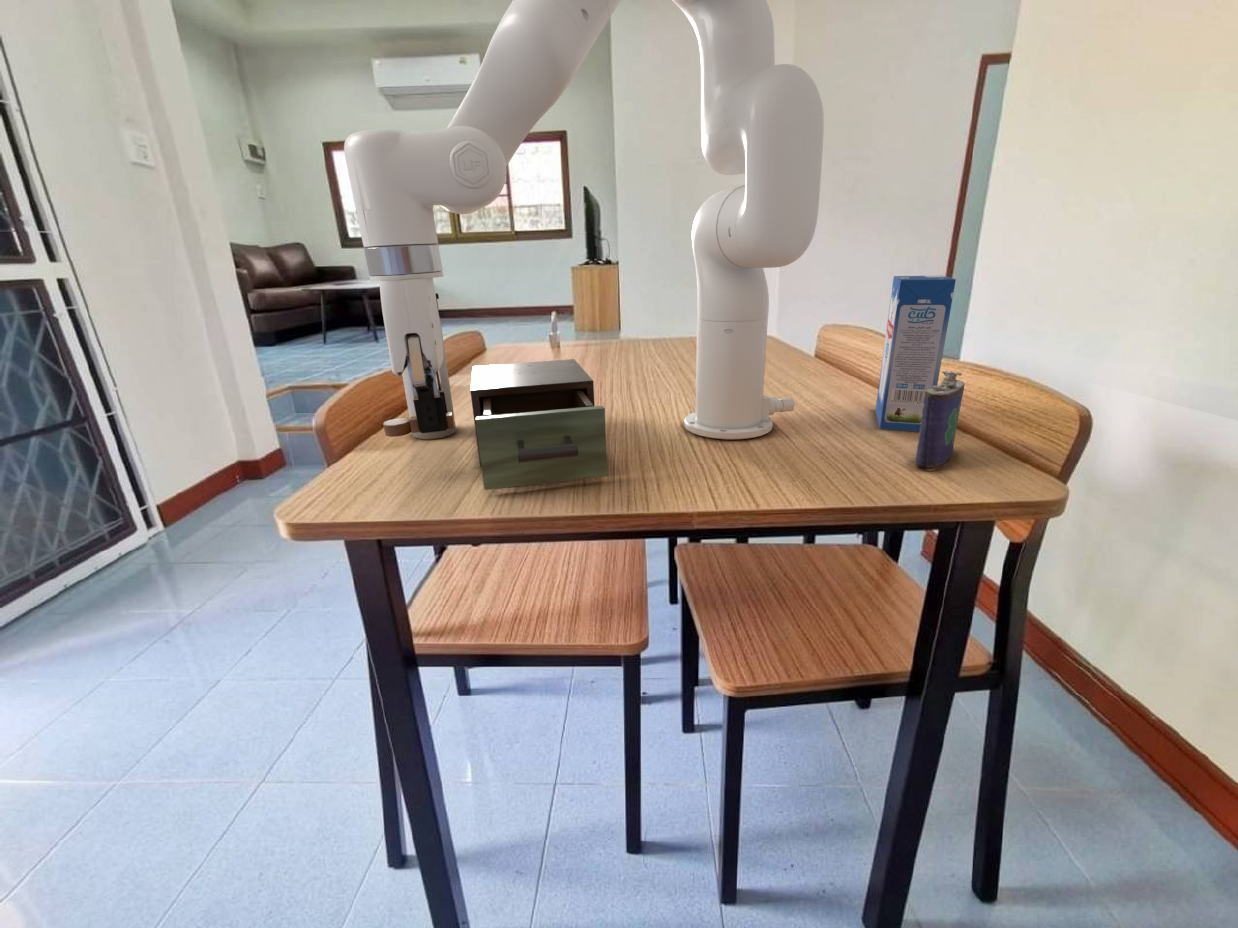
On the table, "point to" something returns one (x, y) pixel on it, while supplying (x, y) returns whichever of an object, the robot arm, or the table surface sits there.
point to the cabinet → (526, 381)
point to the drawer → (541, 438)
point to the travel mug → (445, 389)
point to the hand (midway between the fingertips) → (434, 427)
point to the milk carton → (912, 348)
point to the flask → (939, 423)
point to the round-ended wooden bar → (408, 425)
